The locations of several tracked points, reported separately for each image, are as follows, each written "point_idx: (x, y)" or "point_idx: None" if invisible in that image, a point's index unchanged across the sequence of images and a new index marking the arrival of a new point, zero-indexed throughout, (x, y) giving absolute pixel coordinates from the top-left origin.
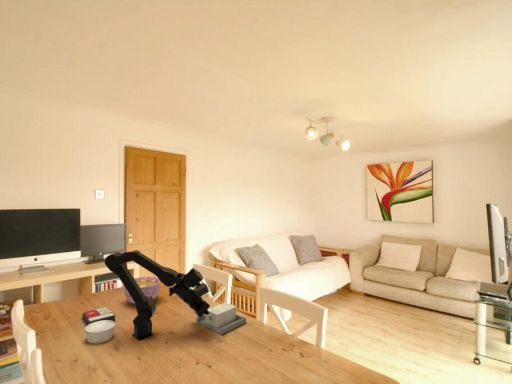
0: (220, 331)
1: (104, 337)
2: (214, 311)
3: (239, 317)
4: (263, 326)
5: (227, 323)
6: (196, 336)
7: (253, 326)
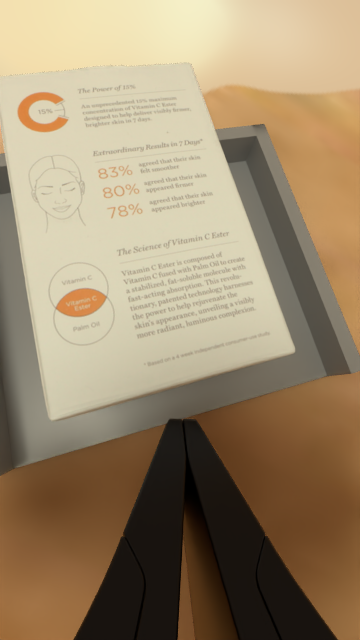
0: (302, 365)
1: None
2: (189, 330)
3: None
4: (332, 109)
5: None
6: None
7: (308, 148)
